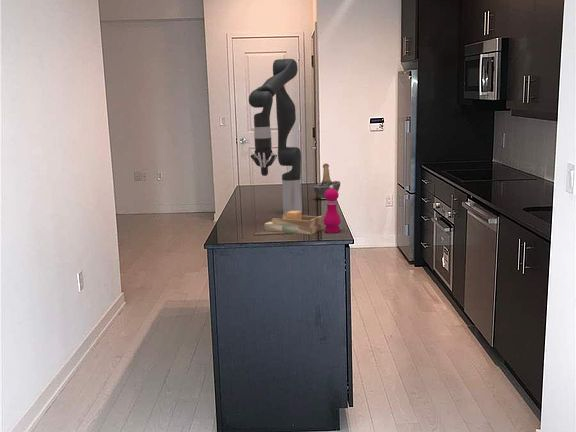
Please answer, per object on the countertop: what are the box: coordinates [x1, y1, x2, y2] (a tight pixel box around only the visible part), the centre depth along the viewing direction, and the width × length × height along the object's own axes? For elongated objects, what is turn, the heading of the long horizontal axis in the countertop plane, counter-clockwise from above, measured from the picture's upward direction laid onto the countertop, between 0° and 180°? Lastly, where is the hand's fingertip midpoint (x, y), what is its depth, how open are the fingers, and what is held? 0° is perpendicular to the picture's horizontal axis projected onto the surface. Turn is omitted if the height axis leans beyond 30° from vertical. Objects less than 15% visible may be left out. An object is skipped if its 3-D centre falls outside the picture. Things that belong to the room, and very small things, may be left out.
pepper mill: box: [323, 185, 341, 234], centre depth 262 cm, size 7×7×20 cm
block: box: [286, 210, 303, 220], centre depth 269 cm, size 5×5×5 cm
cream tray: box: [263, 214, 324, 235], centre depth 269 cm, size 11×23×6 cm, turn 61°
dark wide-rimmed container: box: [313, 163, 341, 199], centre depth 347 cm, size 15×17×20 cm
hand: (264, 175), depth 276 cm, fingers closed
